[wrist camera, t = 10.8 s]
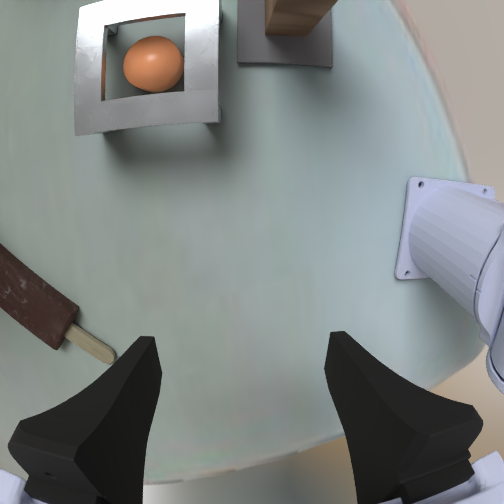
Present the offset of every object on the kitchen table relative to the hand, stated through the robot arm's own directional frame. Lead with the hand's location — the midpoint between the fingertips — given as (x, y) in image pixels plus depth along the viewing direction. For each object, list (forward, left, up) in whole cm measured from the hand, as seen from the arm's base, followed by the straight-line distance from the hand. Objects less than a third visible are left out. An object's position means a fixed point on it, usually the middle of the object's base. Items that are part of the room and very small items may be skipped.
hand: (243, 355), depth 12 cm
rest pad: (-3, -16, -10) cm, 19 cm away
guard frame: (+5, -13, -10) cm, 17 cm away
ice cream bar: (+17, +5, -11) cm, 21 cm away
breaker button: (+5, -13, -11) cm, 18 cm away
